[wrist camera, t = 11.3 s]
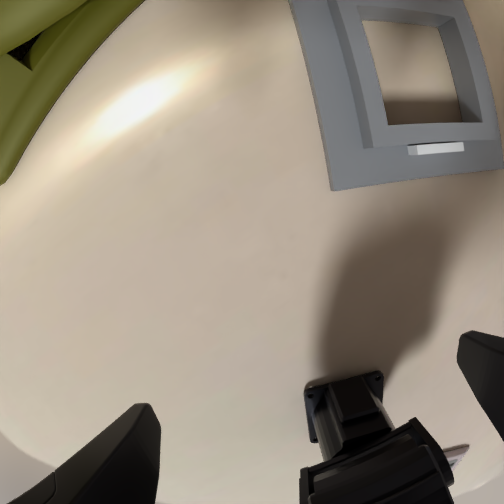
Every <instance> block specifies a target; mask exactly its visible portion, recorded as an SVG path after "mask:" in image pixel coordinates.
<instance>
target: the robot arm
mask: <svg viewBox="0 0 504 504" xmlns="http://www.w3.org/2000/svg"><path fill="white" fill-rule="evenodd" d="M457 363H458V365H459V367H460V369H461V371H462V373H463V374H464V376H465V378H466V380H467V382H468V384H469V386H470V387H471V389H472V391H473V393H474V395H475V397H476V399H477V400H478V402H479V404H480V405H481V407H482V408H483V410H484V411H485V413H486V414H487V416H488V417H489V419H490V420H491V422H492V424H493V425H494V427H495V428H496V430H497V431H498V433H499V435H500V436H501V438H502V440H503V441H504V338H503V337H498V336H494V335H490V334H486V333H482V332H477V331H473V330H472V331H469V332H466V333H464V334H462V335H461V336H460V339H459V345H458V352H457ZM377 376H378V377H377ZM376 377H377V378H376ZM383 381H384V376H383V374H382V372H381V371H374V372H371V373H368V374H364V375H360V376H357V377H353V378H349V379H346V380H342V381H338V382H334V383H330V384H326V385H321V386H317V387H313V388H309V389H306V390H305V391H304V401H305V408H306V415H307V423H308V430H309V438H310V441H311V443H319V445H320V449H321V453H322V456H323V460H324V462H322V463H319V464H317V465H314V466H311V467H305V468H302V469H300V477H301V478H299V494H300V504H454V502H453V499H452V497H451V494H450V492H449V489H448V487H449V486H451V485H453V484H454V477H453V473H452V470H451V467H450V465H449V462H448V460H447V458H446V456H445V454H444V452H443V451H442V449H441V447H440V446H439V445H438V443H437V442H436V441H435V440H434V438H433V437H432V436H431V435H430V434H429V432H428V431H427V430H426V429H425V428H424V426H423V425H422V424H421V423H420V422H419V421H418V419H417V418H416V417H414V418H412V419H410V420H409V422H407V423H406V424H404V425H402V426H400V427H398V428H396V429H395V427H394V425H393V423H392V421H391V420H390V418H389V416H388V414H387V412H386V411H385V409H384V407H383V405H382V400H383ZM309 394H312V395H309ZM160 444H161V426H160V423H159V421H158V419H157V417H156V415H155V413H154V411H153V409H152V407H151V405H150V404H148V403H137V404H134V405H133V406H132V407H130V408H129V409H128V410H127V411H126V412H125V413H123V414H122V415H121V416H120V417H119V418H118V419H116V420H115V421H114V422H113V423H112V424H111V425H109V426H108V427H107V428H106V429H105V430H103V431H102V432H101V433H100V434H99V435H97V436H96V437H95V438H94V439H93V440H91V441H90V442H89V443H88V444H87V445H85V446H84V447H83V448H82V449H81V450H79V451H78V452H77V453H76V454H74V455H73V456H72V457H71V458H70V459H68V460H67V461H66V462H65V463H63V464H62V465H61V466H60V467H58V468H57V469H56V470H55V472H52V473H51V474H50V475H48V476H47V477H46V478H45V479H43V480H42V481H41V482H39V483H38V484H37V485H35V486H34V487H33V488H31V489H30V490H28V491H27V492H25V493H23V494H22V495H20V496H19V497H17V498H16V499H14V500H12V501H11V502H9V503H7V504H155V499H156V493H157V486H158V480H159V469H160Z"/></svg>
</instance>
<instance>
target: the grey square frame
mask: <svg viewBox="0 0 504 504" xmlns="http://www.w3.org/2000/svg"><path fill="white" fill-rule="evenodd" d="M288 1H289V4H290V8H291V11H292V15H293V18H294V22H295V25H296V29H297V33H298V36H299V40H300V44H301V48H302V52H303V56H304V59H305V64H306V68H307V72H308V76H309V80H310V85H311V89H312V93H313V98H314V103H315V107H316V112H317V117H318V122H319V127H320V132H321V137H322V142H323V147H324V153H325V159H326V164H327V170H328V176H329V182H330V188H331V191H340V190H346V189H352V188H359V187H365V186H371V185H378V184H385V183H392V182H399V181H406V180H413V179H420V178H428V177H436V176H444V175H452V174H460V173H469V172H478V171H487V170H497V169H504V161H503V152H502V144H501V137H500V130H499V124H498V118H497V113H496V108H495V103H494V98H493V94H492V89H491V85H490V81H489V77H488V73H487V69H486V66H485V62H484V59H483V55H482V52H481V49H480V46H479V43H478V40H477V37H476V34H475V31H474V28H473V25H472V23H471V20H470V17H469V15H468V12H467V10H466V7H465V5H464V2H463V0H288ZM361 20H368V21H386V22H399V23H409V24H418V25H425V26H432V27H438V29H439V32H440V35H441V38H442V41H443V44H444V47H445V51H446V54H447V57H448V61H449V64H450V68H451V72H452V76H453V80H454V84H455V88H456V92H457V97H458V101H459V106H460V111H461V116H462V121H463V123H422V124H403V125H388V122H387V117H386V112H385V107H384V103H383V98H382V94H381V89H380V85H379V81H378V77H377V73H376V69H375V65H374V62H373V58H372V54H371V51H370V47H369V44H368V40H367V37H366V34H365V31H364V27H363V24H362V21H361Z"/></svg>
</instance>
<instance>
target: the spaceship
mask: <svg viewBox="0 0 504 504" xmlns="http://www.w3.org/2000/svg"><path fill="white" fill-rule="evenodd" d="M143 1H144V0H0V185H2V184H4V183H5V182H6V181H7V179H8V178H9V177H10V175H11V174H12V172H13V171H14V169H15V167H16V165H17V163H18V161H19V159H20V158H21V156H22V154H23V152H24V151H25V149H26V147H27V145H28V144H29V142H30V140H31V139H32V137H33V135H34V134H35V132H36V130H37V129H38V127H39V126H40V124H41V123H42V121H43V119H44V118H45V116H46V115H47V113H48V112H49V110H50V109H51V108H52V106H53V105H54V103H55V102H56V100H57V99H58V97H59V96H60V95H61V93H62V92H63V91H64V89H65V88H66V87H67V85H68V84H69V83H70V81H71V80H72V79H73V77H74V76H75V75H76V74H77V72H78V71H79V70H80V68H81V67H82V66H83V65H84V64H85V62H86V61H87V60H88V59H89V58H90V56H91V55H92V54H93V53H94V52H95V51H96V49H97V48H98V47H99V46H100V45H101V44H102V43H103V42H104V40H105V39H106V38H107V37H108V36H109V35H110V34H111V33H112V32H113V31H114V30H115V29H116V28H117V27H118V26H119V25H120V23H121V22H122V21H123V20H124V19H125V18H126V17H127V16H128V15H130V14H131V13H132V12H133V11H134V10H135V9H136V8H137V7H138V6H139V5H140V4H141V3H142V2H143ZM43 30H44V31H43ZM42 31H43V33H42V34H41V35H40V36H39V38H38V39H37V40H36V42H35V43H34V44H33V45H32V47H31V48H30V49H29V51H28V52H27V54H26V55H25V56H24V58H23V59H22V61H20V60H19V59H17V58H16V57H14V56H13V55H11V54H10V53H9V51H11V50H13V49H14V48H16V47H18V46H20V45H21V44H23V43H25V42H27V41H29V40H30V39H32V38H33V37H35V36H36V35H37V34H39V33H40V32H42Z"/></svg>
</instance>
